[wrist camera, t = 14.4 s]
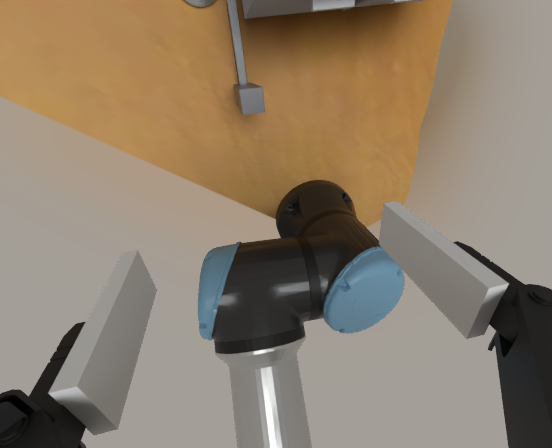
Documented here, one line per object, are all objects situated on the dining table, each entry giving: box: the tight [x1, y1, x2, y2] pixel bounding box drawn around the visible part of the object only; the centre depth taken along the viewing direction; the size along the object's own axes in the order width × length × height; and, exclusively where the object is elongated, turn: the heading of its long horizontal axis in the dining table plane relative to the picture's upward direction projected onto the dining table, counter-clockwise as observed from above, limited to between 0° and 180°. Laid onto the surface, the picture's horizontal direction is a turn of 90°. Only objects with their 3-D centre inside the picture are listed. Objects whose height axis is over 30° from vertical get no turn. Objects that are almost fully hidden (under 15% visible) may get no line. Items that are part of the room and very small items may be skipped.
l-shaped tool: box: [226, 0, 265, 115], centre depth 29 cm, size 18×2×12 cm, turn 6°
